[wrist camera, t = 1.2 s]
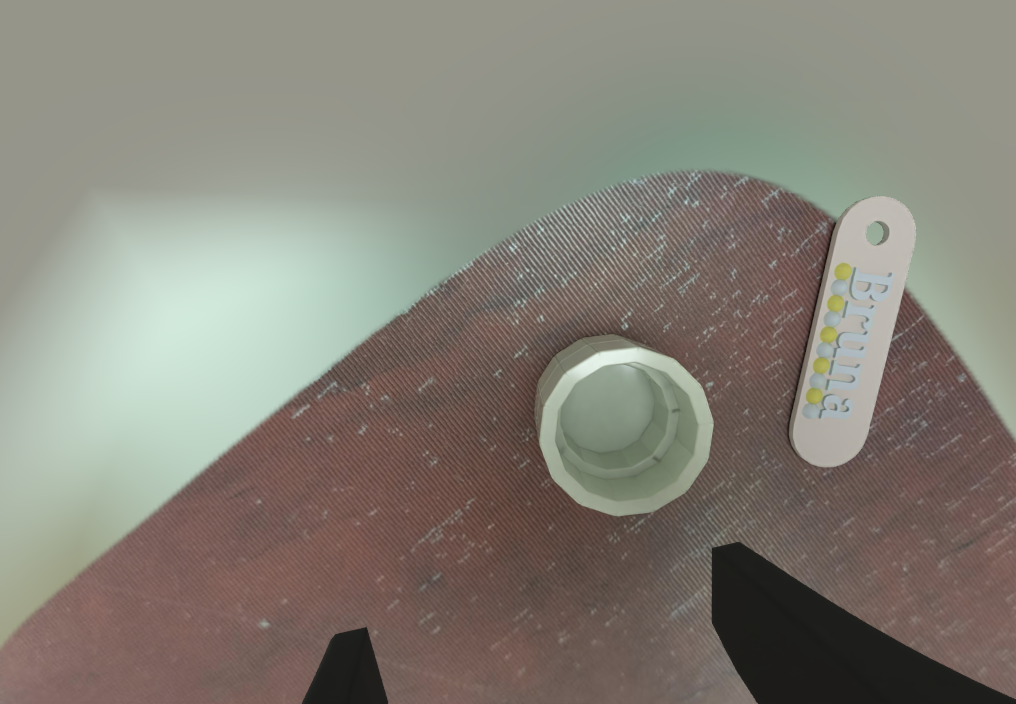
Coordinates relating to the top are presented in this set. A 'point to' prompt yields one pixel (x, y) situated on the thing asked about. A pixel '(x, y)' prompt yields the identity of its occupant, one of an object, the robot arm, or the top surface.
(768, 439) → the top surface
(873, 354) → the keychain
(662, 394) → the green faceted cup
